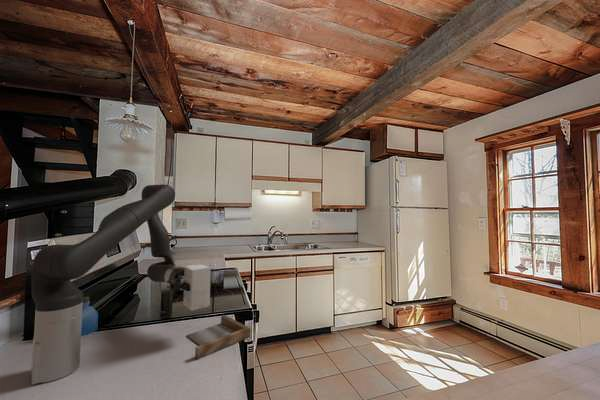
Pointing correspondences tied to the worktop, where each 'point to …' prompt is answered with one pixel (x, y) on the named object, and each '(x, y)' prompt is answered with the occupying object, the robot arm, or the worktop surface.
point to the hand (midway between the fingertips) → (200, 285)
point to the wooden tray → (219, 336)
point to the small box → (197, 286)
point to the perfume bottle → (88, 318)
